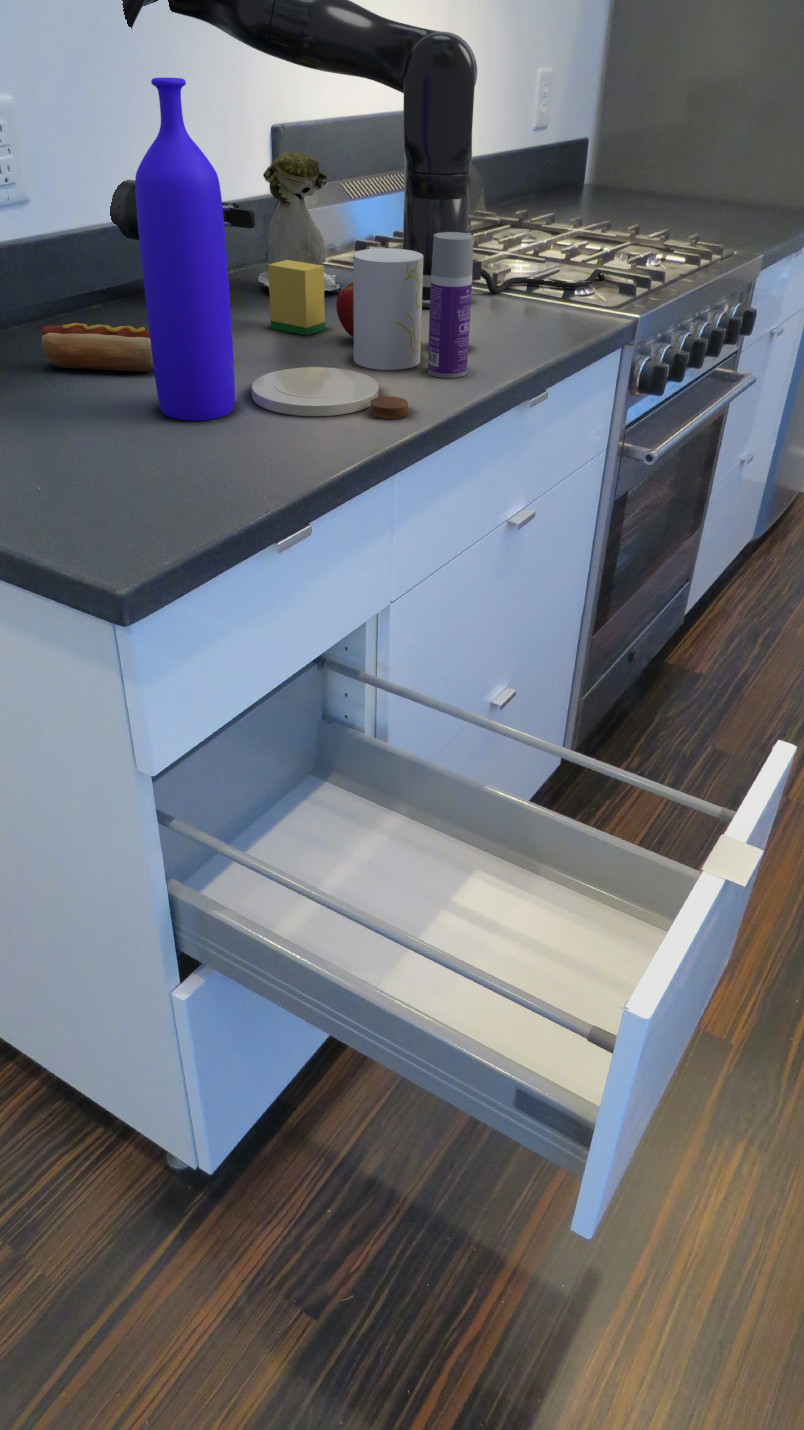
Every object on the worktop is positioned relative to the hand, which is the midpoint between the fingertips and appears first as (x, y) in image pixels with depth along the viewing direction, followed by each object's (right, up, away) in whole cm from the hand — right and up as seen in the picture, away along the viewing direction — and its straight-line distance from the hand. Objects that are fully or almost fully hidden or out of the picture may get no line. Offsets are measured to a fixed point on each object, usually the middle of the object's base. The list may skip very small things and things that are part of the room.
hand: (232, 223), depth 136 cm
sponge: (+9, -13, +2) cm, 16 cm away
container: (+28, -24, -13) cm, 39 cm away
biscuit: (+21, -32, -26) cm, 46 cm away
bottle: (+1, -32, -26) cm, 42 cm away
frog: (+7, 0, +22) cm, 23 cm away
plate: (+13, -29, -21) cm, 39 cm away
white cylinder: (+21, -21, -9) cm, 31 cm away
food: (-12, -24, -15) cm, 31 cm away
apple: (+18, -17, -2) cm, 25 cm away
